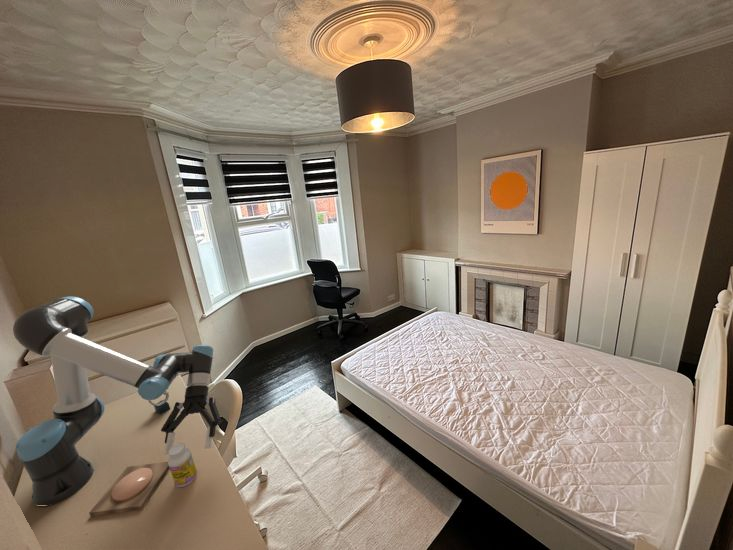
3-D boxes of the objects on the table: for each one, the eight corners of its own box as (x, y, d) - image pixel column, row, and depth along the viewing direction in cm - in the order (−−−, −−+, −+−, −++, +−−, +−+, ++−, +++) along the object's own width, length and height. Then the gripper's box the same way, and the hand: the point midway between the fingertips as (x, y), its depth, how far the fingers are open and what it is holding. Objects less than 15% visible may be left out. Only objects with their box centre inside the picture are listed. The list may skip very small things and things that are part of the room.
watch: (174, 406, 139) (168, 386, 137) (155, 417, 133) (148, 396, 130) (170, 402, 143) (163, 383, 140) (151, 412, 137) (143, 392, 134)
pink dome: (103, 503, 93) (102, 501, 93) (129, 472, 104) (128, 470, 103) (138, 498, 93) (137, 496, 93) (160, 468, 104) (159, 465, 103)
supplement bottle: (172, 491, 96) (161, 460, 93) (179, 473, 102) (168, 444, 99) (194, 484, 98) (184, 453, 94) (200, 467, 104) (190, 438, 101)
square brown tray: (90, 516, 91) (88, 512, 90) (128, 470, 106) (127, 466, 106) (142, 509, 91) (140, 505, 91) (172, 464, 107) (171, 461, 106)
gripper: (234, 383, 114) (229, 445, 104) (170, 392, 114) (158, 455, 103) (226, 380, 108) (218, 446, 97) (158, 389, 107) (143, 457, 97)
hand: (187, 451), depth 100 cm, fingers open, 13 cm apart
